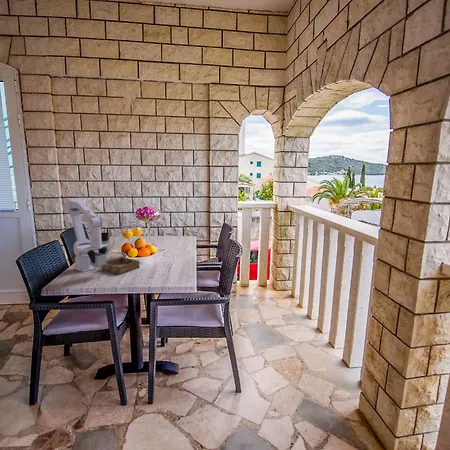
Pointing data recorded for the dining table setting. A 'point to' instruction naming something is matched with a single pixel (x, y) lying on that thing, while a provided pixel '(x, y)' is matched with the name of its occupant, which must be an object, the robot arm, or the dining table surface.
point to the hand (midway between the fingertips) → (97, 261)
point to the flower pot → (123, 253)
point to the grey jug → (106, 241)
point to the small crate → (99, 260)
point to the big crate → (121, 265)
